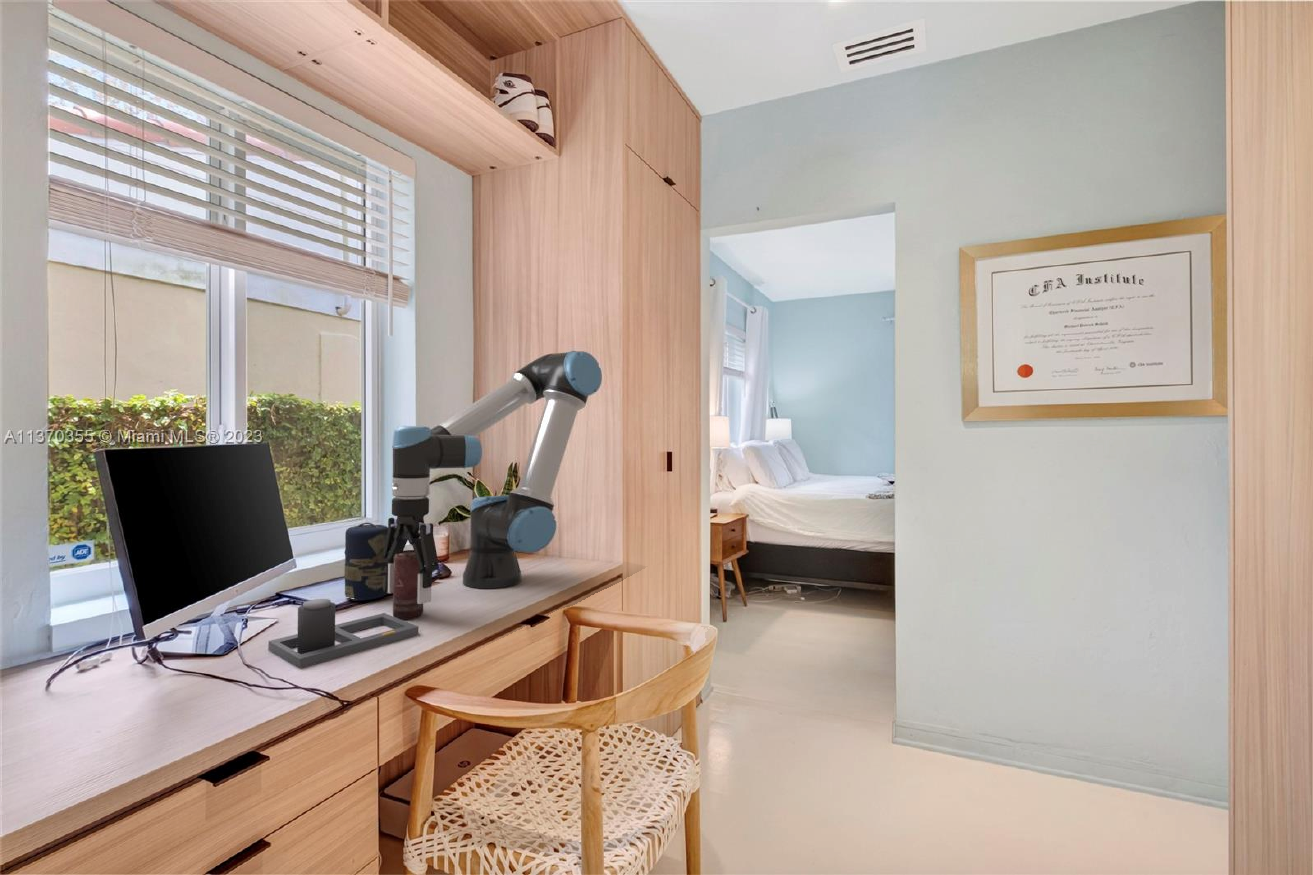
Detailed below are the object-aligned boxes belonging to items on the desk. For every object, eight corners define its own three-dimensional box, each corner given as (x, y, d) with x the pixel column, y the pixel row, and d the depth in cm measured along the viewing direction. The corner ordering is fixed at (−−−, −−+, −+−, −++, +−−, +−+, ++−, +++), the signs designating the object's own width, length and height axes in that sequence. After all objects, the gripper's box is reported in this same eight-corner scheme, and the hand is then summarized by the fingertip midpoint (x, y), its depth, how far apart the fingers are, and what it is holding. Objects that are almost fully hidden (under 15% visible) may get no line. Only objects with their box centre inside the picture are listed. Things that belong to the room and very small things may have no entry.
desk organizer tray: (384, 620, 127) (384, 612, 127) (418, 634, 120) (418, 625, 120) (268, 649, 110) (268, 639, 110) (299, 668, 102) (299, 657, 102)
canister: (359, 605, 137) (360, 527, 137) (335, 598, 142) (336, 523, 142) (396, 596, 145) (398, 522, 145) (373, 589, 150) (374, 518, 150)
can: (413, 621, 127) (414, 555, 127) (386, 619, 128) (387, 553, 128) (429, 613, 133) (430, 550, 133) (404, 610, 134) (405, 548, 134)
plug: (325, 641, 115) (326, 595, 114) (340, 649, 111) (341, 601, 111) (291, 650, 110) (292, 602, 110) (306, 658, 106) (306, 609, 106)
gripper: (366, 493, 134) (364, 590, 135) (425, 503, 120) (423, 612, 121) (397, 491, 140) (396, 584, 141) (458, 500, 126) (456, 604, 127)
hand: (408, 597), depth 131 cm, fingers open, 11 cm apart
